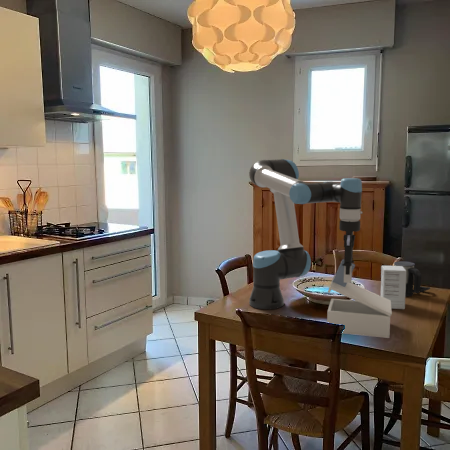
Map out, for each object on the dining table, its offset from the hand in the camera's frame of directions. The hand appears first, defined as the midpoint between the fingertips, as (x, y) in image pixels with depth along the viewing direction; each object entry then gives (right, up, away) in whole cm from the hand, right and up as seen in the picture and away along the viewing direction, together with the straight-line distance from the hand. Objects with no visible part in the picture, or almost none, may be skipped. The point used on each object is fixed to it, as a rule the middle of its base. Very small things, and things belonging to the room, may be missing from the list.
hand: (347, 281), depth 178 cm
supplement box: (+26, -14, +27) cm, 40 cm away
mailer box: (+4, -18, +1) cm, 18 cm away
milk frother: (+41, -11, +44) cm, 61 cm away
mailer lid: (+4, -7, 0) cm, 8 cm away
